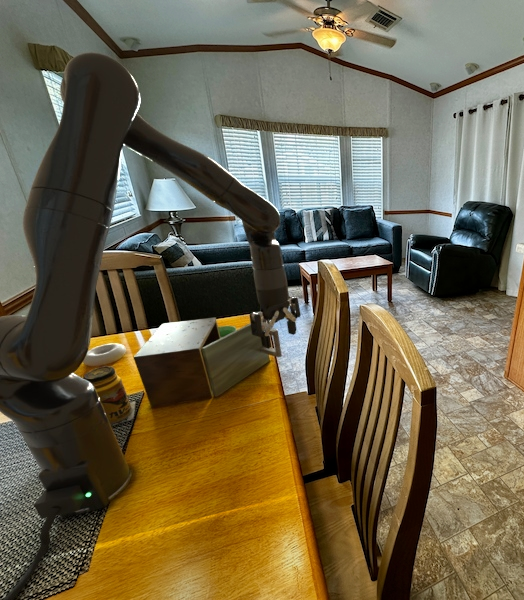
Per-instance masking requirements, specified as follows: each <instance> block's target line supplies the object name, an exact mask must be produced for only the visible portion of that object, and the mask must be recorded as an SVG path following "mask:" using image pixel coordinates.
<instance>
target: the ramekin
mask: <svg viewBox="0 0 524 600" xmlns="http://www.w3.org/2000/svg"><path fill="white" fill-rule="evenodd" d="M218 329H219V333H220V337H221V338H222V337H224V336H226V335H228V334H230V333H232V332H234V331H236V330H238V329H237V327H235V326H233V325H221V326H218Z"/></svg>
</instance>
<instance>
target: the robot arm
mask: <svg viewBox="0 0 524 600" xmlns="http://www.w3.org/2000/svg"><path fill="white" fill-rule="evenodd" d="M59 94H60V97H61V101H62V103H63V106H62V113H61V117H60V121H59V125H58V127H57V128H56V129H57V130H56V132H55V134H54V136H53V138H52V139H51V141H50V144H49V145H48V147H47V150H46V151H45V153H44V156H43V157H42V160H41V162H40V164H39V167H38V169H37V172H36V173H35V176H34V179H33V181H32V184H31V187H30V190H29V194H28V198H27V201H26V204H25V208H24V211H23V217H22V231H23V234H24V238H25V241H26V244H27V248H28V250H29V253H30V255H31V258H32V261H33V266H34V269H35V285H34V292H33V296H32V299H31V302H30V305H29V309H28V311H27V315H26V314H8V315H3V316H0V413H1V414H2V415H4V416H5V417H6V418H8V419H10V420H11V421H12V423H14V424H15V426H16V428H17V430H18V431H19V433H20V434H21V436H22V439H23V440H24V442H25V443H26V446H27V448H28V449H29V451H30V453H31V454H32V456H33V458H34V460H35V462H36V464H37V466H38V467H39V469H40V470H41V471H40V472H39V473H38V474H37V478H38V479H39V481H40V483H41V485H42V487H43V488H44V490H43V492H42V494H40V496H39V497H38V498H37V499H36V501H35V502H34V504H33V507H34V508H35V510H36V512H37V513H38V515H39V517H40V519H42V520H44V519H45V521H44V523H43V525H42V528H41V530H40V533H39V542H40V546H39V548H38V550H37V553H36V555H35V557H34V559H33V560H32V563H31V564H30V566H29V568H27V570H26V572H25V573H24V574H23V575H22V577H21V578H20V579H19V581H18V582H17V583H16V584H15V586H14V587H13V588H11V590H10V591H9V592H8V594H6V596H5V597H4V598H3V599H2V600H14V599H15V598H16V597H17V596H18V595H19V594H20V592H21V591H22V589H24V587H25V586H26V585H27V583H28V582H29V580H30V579H31V578H32V576H33V575H34V573H35V572H36V571H35V570H36V569H37V567H38V566H39V564H40V563H41V561H42V560H43V558H44V556H45V554H46V553H47V552H48V551H49V550H48V549H49V547H50V545H51V536H50V533H51V530H52V526H53V524H54V522H55V520H56V518H57V517H58V516H59V517H61V519H63V518H68V517H71V516H75V515H81V514H85V513H89V512H94V511H97V510H102V509H105V508H107V507H108V505H109V503H110V502H111V501H112V500H114V499H115V498H116V497H117V496H119V495H120V494H121V493H122V492H123V491H124V490H125V489H126V488H127V487H128V486H129V483H130V482H131V480H132V476H133V472H132V469H131V467H130V466H129V464H128V461H127V459H126V457H125V454H124V453H123V450H122V448H121V445H120V443H119V441H118V438H117V436H116V434H115V432H114V429H113V426H112V424H110V422H109V420H108V417H107V415H106V413H105V410H104V408H103V405H102V403H101V401H100V398H99V396H98V393H97V391H96V389H95V387H94V385H93V384H92V383H91V382H89V381H87V380H85V379H83V377H81V376H80V375H78V374H76V373H75V372H76V371H77V370H79V368H80V367H81V366H82V364H84V363H83V361H84V359H85V357H86V355H87V352H88V351H89V350H90V345H91V341H92V340H91V339H92V330H93V319H94V309H95V299H96V291H97V285H98V284H97V283H98V279H99V274H100V269H101V266H102V259H103V254H104V250H105V246H106V241H107V238H108V235H109V232H110V227H111V223H112V220H113V215H114V211H115V205H116V198H117V193H118V186H119V180H120V170H121V162H122V161H121V160H122V153H123V148H124V147H127V148H128V149H130V150H131V151H134V152H135V153H137V154H139V155H140V156H142V157H144V158H146V159H147V160H149V161H151V162H153V163H155V164H156V165H157V166H160V167H162V168H163V169H165V171H168V172H169V173H171V174H172V175H174V176H176V177H177V178H178V179H180V180H182V181H183V182H185V183H186V184H187V185H189V186H191V188H193V189H195V190H196V191H198V192H199V193H200V194H202V195H203V196H204V197H206V198H208V199H209V200H210V201H212V202H213V203H214V204H216V205H218V206H219V207H221V208H223V209H225V210H227V211H229V212H230V213H232V214H233V215H234V216H235V217H236V218H238V219H240V220H241V223H242V227H243V230H244V231H243V232H244V234H245V237H246V240H247V243H248V246H249V250H250V258H251V264H252V269H253V280H254V281H253V282H254V287H255V292H256V298H257V303H258V304H259V306H260V309H259V311H257V312H250V313H249V322H250V323H251V330H252V335H255V336H258V337H261V342H262V346H264V347H265V348H268V349H269V348H272V341H271V335H269V332H270V330H271V328H274V326H275V324H276V323H278V322H279V321H282V320H284V319H285V320H286V325H287V332H288V334H290V335H293V336H294V335H296V333H297V323H296V322H297V319H298V318H300V317H301V308H300V304H299V298H298V297H296V296H291V295H290V293H289V286H288V285H289V284H288V280H287V272H286V269H285V265H284V259H283V252H282V248H281V245H280V243H279V242H278V241H277V239H276V235H275V232H276V231H277V230H278V229H279V227H280V226H281V220H282V219H281V214H280V212H279V210H278V209H277V208H276V206H274V205H273V203H271V202H270V201H268V200H267V199H266V198H265V197H263V196H261V195H260V194H258V193H257V192H255V191H254V190H252V189H251V188H249V187H248V186H246V185H245V184H243V182H241V181H240V180H239V179H238V178H237V177H236V176H234V175H233V174H232V173H230V172H229V171H228V170H227V169H226V168H225V167H223V166H222V165H221V164H219V163H218V162H217V161H215V160H214V159H212V157H209V156H207V155H206V154H204V153H203V152H200V151H198V150H197V149H194V148H191V147H190V146H187V145H185V144H183V143H181V142H179V141H177V140H175V139H173V138H171V137H169V136H168V135H166V134H164V133H163V132H161V131H159V130H158V129H157V128H155V127H154V126H153V125H151V123H149V122H147V121H146V120H145V118H143V117H142V116H141V115H140V114H139V113H137V112H138V111H139V108H140V105H141V93H140V89H139V85H138V84H137V82H136V80H135V78H134V77H133V75H132V74H131V72H130V71H129V70H128V69H127V68H126V67H125V66H124V64H122V63H121V62H119V61H118V60H117V59H115V58H113V57H111V56H109V55H107V54H104V53H103V54H102V53H100V52H93V51H91V52H84V53H80V54H77V55H75V56H74V57H71V59H70V60H69V61H68V62H67V64H66V65H65V68H64V73H63V76H62V79H61V82H60V88H59ZM267 322H268V323H267ZM250 323H249V324H250ZM265 327H266V329H265ZM264 330H265V331H264Z"/></svg>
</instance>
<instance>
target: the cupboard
mask: <svg viewBox="0 0 524 600" xmlns="http://www.w3.org/2000/svg"><path fill="white" fill-rule="evenodd" d="M218 327H219V325H218V321H217V317H208V318H207V317H206V318H199V319H189V320H182V321H172V322H171V321H170V322H163V323H161V325H160V326H159V327H158V328H157V329H156V331H155V332H153V334H152V335H151V336H150V337H149V339H148V340H147V341H146V342H145V343H144V344H143V345H142V347H141V348H140V349H139V350H138V351H137V352H136V353H135V354H134V355H133V360H134V363H135V366H136V368H137V372H138V374H139V377H140V380H141V383H142V386H143V388H144V391H145V395H146V397H147V399H148V402H149V405H150V408H151V409H152V408H158V407H165V406H170V405H175V404H182V403H186V402H193V401H199V400H200V401H201V400H205V399H210V398H213V396H214V394H213V390H212V386H211V383H210V379H209V375H208V371H207V368H206V364H205V360H204V356H203V352H202V349H201V348H203V347H205V346H207V345H209V344H211V343H212V342H214V341H216V340H218V339H220V338H221V337H220V333H219V329H218Z"/></svg>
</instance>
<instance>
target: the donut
mask: <svg viewBox="0 0 524 600" xmlns="http://www.w3.org/2000/svg"><path fill="white" fill-rule="evenodd" d="M126 352H127V348H126V346H125V345H124V344H121V343H115V342H114V343H106V344H101V345H97V346H95V347H92V348H91V349H88V352H87V355H86V357H85V359H84V361H83V363H82V364H83V365H85V366H88V367H103V366H107V365H109V364H112V363H114V362H118V361H119V360H120V359H122V358H123V357H124V356H125V354H126Z"/></svg>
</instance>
